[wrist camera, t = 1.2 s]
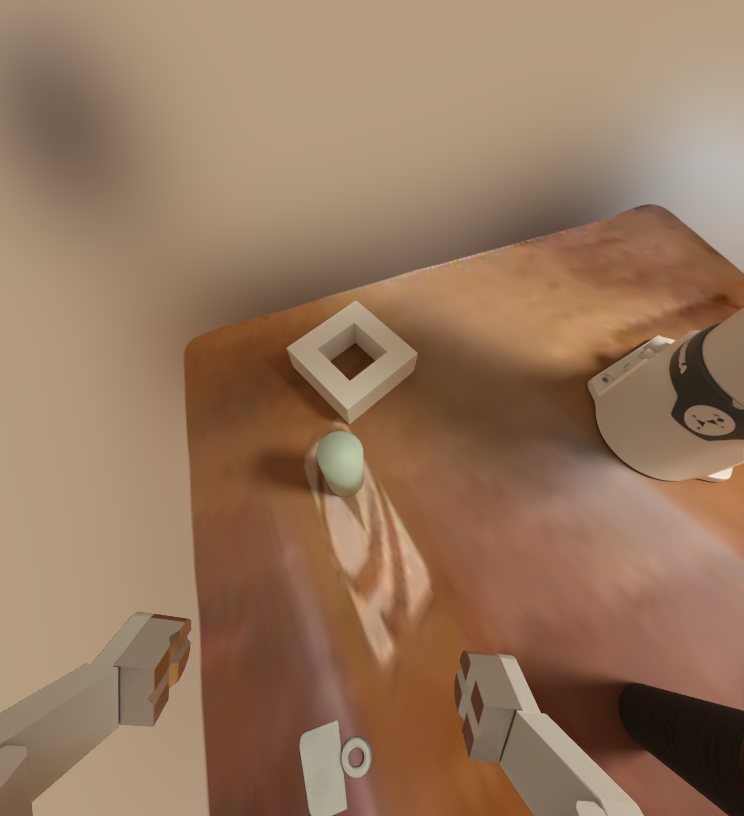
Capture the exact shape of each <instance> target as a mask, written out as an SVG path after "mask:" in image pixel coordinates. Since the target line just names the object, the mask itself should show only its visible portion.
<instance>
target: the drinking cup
mask: <svg viewBox="0 0 744 816" xmlns="http://www.w3.org/2000/svg"><path fill="white" fill-rule="evenodd" d="M619 710H620V716H621V719H622V722H623V724H624V726H625V728H626V730H627V732H628V733H629V734H630V736H631V737H632V738H633V739H634V740H635V741H636V742H637V743H638V744H640V745H641V746H642V747H643V748H645V749H646V750H647V751H648V752H650V753H651V754H652V755H653V756H655V757H656V758H657V759H659V760H660V761H661V762H662V763H664V764H665V765H666V766H667V767H669V768H670V769H671V770H672V771H674V772H675V773H676V774H677V775H679V776H680V777H681V778H682V779H684V780H685V781H686V782H687V783H689V784H690V785H691V786H692V787H694V788H695V789H696V790H697V791H699V792H700V793H701V794H702V795H704V796H705V797H706V798H707V799H709V800H710V801H711V802H712V803H714V804H715V805H716V806H717V807H719V808H720V809H721V810H722V811H724V812H725V813H726V814H727V815H729V816H744V711H742V710H738V709H735V708H731V707H727V706H723V705H720V704H716V703H712V702H708V701H704V700H701V699H697V698H693V697H689V696H686V695H682V694H678V693H674V692H671V691H667V690H663V689H659V688H656V687H652V686H648V685H644V684H639V683H636V684H631V685H629V686H628V687H626V688H625V689H624V691H623V692H622V694H621V697H620V702H619Z"/></svg>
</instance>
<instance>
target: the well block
mask: <svg viewBox="0 0 744 816" xmlns="http://www.w3.org/2000/svg"><path fill="white" fill-rule="evenodd" d="M354 343H356V344H357V345H358V346H359V347H360V348H361V349H363V350H364V351H365V352H366V353H367V354H368V355H369V356H370V357H371V358H372V359H373V360H375V362H374V363H372V364H371V365H370V366H368V367H367V368H366V369H365V370H363V371H362V372H361V373H359V374H358V375H357V376H356V377H354V378H353V379H352V380H350V381H349V380H348V379H347V378H346V377H345V376H344V375H343V374H342V373H341V372H340V371H339V370H338V369H337V368H336V367H335V366H334V365H333V364H332V363H331V362H330V361H331V360H333V359H334V358H335V357H337V356H338V355H339V354H341V353H342V352H344V351H345V350H346V349H348V348H349V347H350V346H352V345H353V344H354ZM287 351H288V354H289V356H290V359H291V362H292V365H293V367H294V368H295V369H296V370H297V371H298V372H299V373H300V374H301V375H302V376H303V377H304V378H305V379H306V380H307V381H308V383H309V384H310V385H311V386H312V387H313V388H314V389H315V390H316V391H317V392H318V393H319V394H320V395H321V396H322V397H323V398H324V399H325V400H326V401H327V402H328V403H329V404H330V405H331V406H332V407H333V408H334V409H335V410H336V411H337V412H338V414H339V415H340V416H341V417H342V418H343V419H344V420H345V421H346V422H347V423H348V424H349V425H350V424H351V423H352V422H353V421H354V420H356V419H357V418H358V417H359V416H361V415H362V414H363V413H364V412H365V411H367V410H368V409H369V408H370V407H371V406H373V405H374V404H375V403H376V402H377V401H379V400H380V399H381V398H382V397H384V396H385V395H386V394H387V393H388V392H390V391H391V390H392V389H393V388H394V387H396V386H397V385H398V384H399V383H400V382H402V381H403V380H404V379H405V378H407V377H408V376H409V375H410V374H411V373H413V372H414V368H415V364H416V359H417V355H418V353H417V352H416V351H415V350H414V349H413V348H411V347H410V346H409V345H408V344H407V343H406V342H404V341H403V340H402V339H401V338H400V337H399V336H397V335H396V334H395V333H394V332H393V331H392V330H390V329H389V328H388V327H387V326H386V325H384V324H383V323H382V322H381V321H380V320H379V319H377V318H376V317H375V316H374V315H373V314H372V313H370V312H369V311H368V310H367V309H366V308H365V307H363V306H362V305H361V304H360V303H359V302H358V301H354V302H353V303H351V304H350V305H348V306H347V307H345V308H344V309H342V310H341V311H339V312H338V313H337V314H335V315H334V316H332V317H331V318H329V319H328V320H326V321H325V322H323V323H322V324H321V325H319V326H318V327H316V328H315V329H313V330H312V331H310V332H309V333H307V334H306V335H304V336H303V337H302V338H300V339H299V340H297V341H296V342H294V343H293V344H291V345H290V346H288V347H287Z"/></svg>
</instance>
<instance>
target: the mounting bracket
mask: <svg viewBox="0 0 744 816" xmlns="http://www.w3.org/2000/svg"><path fill="white" fill-rule="evenodd" d="M354 747H359V748H361V750H362V751H363V753H364V761H363V763H362V765H360V766H359V767H354V766H352V765H351V764H350V762H349V753H350V751H351V750H352V749H353V748H354ZM300 754H301V760H302V767H303V773H304V780H305V786H306V793H307V799H308V806H309V811H310V814H311V816H332V815H334V814H336V813H339V812H341V811H343V810H346V809H347V803H346V794H345V784H344V775H343V769H344V771H345V772H346V773H347V774H348V775H349V776H351V777H353V778H357V777H361V776H363V775H364V774H365V773H366V772H367V771H368V769H369V767H370V764H371V760H372V754H371V749H370V746H369V743H368V742H367V741H366V740H365V739H364V738H362V737H359V736H355V737H351V738H350V739H348V740H347V741H346V743H345V744H344V746H343V748H342V752H341V746H340V737H339V727H338V720H337V721H334V722H331V723H329V724H326V725H324V726H321V727H318V728H316V729H313V730H311V731H308V732H305V733H304V734H303V735H302V737H301V740H300Z"/></svg>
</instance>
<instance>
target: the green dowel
mask: <svg viewBox="0 0 744 816" xmlns="http://www.w3.org/2000/svg"><path fill="white" fill-rule="evenodd" d="M316 456H317V461H318V463H319V466H320V468H321V470H322V473H323V475H324V477H325V479H326V482H327V484H328V486H329V488H330V490H331V491H332V492H333V493H334V494H336V495H338V496H341V497H349V496H352V495H354V494H356V493H357V492H358V491H359V490H360V489H361V487H362V485H363V480H364V475H363V448H362V445H361V443H360V441H359V440H358V438H357V437H355V436H354V435H353V434H351V433H348V432H345V431H336V432H332V433H330V434H328V435H327V436H325V437H324V438H323V439H322V440H321V441H320V443H319V445H318V447H317V452H316Z"/></svg>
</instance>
